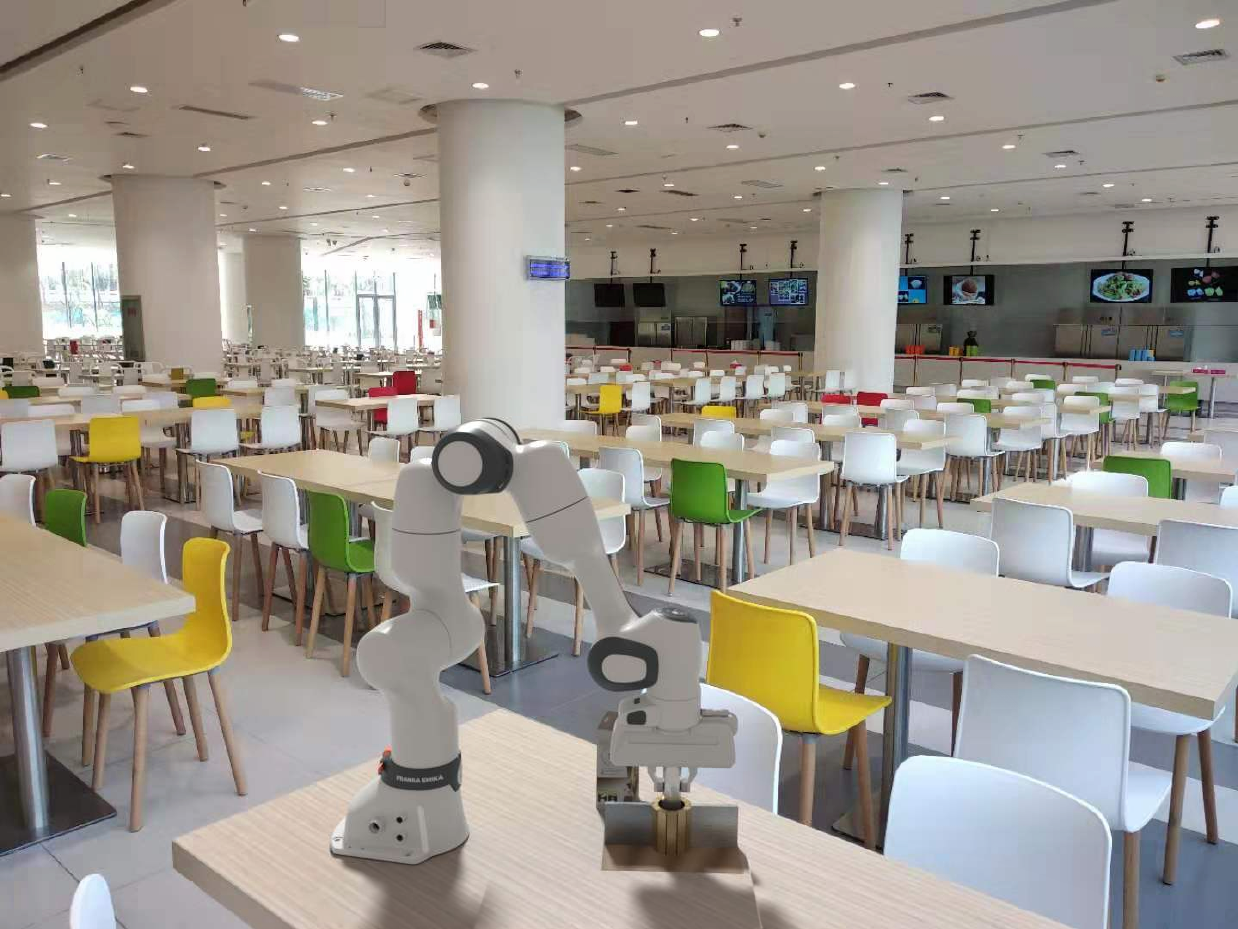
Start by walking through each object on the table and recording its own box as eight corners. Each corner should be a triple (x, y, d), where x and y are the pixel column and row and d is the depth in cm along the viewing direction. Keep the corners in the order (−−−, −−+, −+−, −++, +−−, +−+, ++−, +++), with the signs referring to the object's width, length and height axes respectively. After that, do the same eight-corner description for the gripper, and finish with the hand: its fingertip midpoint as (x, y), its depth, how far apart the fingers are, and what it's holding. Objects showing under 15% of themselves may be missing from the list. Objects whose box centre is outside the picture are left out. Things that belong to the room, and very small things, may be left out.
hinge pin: (662, 822, 154) (663, 750, 152) (662, 813, 157) (663, 743, 155) (681, 822, 154) (682, 751, 152) (680, 813, 157) (681, 743, 155)
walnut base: (601, 879, 148) (601, 870, 148) (604, 839, 160) (604, 831, 160) (743, 882, 148) (743, 873, 148) (735, 842, 160) (735, 834, 160)
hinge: (603, 853, 153) (604, 812, 152) (605, 833, 159) (605, 793, 158) (739, 857, 152) (740, 815, 152) (735, 836, 159) (736, 796, 158)
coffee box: (630, 820, 167) (631, 731, 165) (594, 816, 168) (595, 728, 166) (640, 796, 176) (641, 712, 174) (605, 792, 177) (606, 709, 175)
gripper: (736, 702, 156) (734, 783, 158) (611, 700, 156) (610, 780, 158) (740, 717, 150) (738, 801, 151) (609, 714, 150) (609, 798, 152)
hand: (671, 790), depth 155 cm, fingers closed on hinge pin, 3 cm apart
